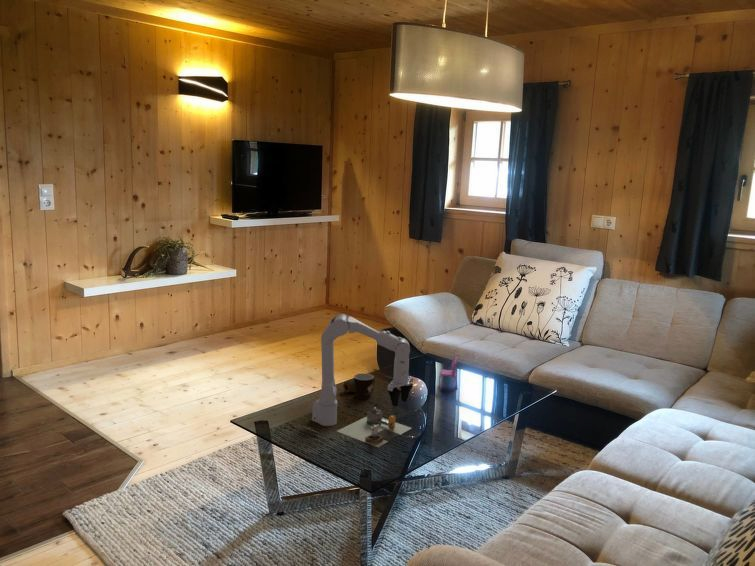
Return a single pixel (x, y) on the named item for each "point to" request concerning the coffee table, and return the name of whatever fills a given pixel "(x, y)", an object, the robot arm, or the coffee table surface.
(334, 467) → the coffee table surface
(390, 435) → the rubber pad
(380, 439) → the frame
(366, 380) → the coffee mug
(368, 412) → the cylinder
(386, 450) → the coffee table surface
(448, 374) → the toy chair
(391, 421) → the lever
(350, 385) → the stone weight
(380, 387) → the coffee table surface
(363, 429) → the board
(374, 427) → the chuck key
